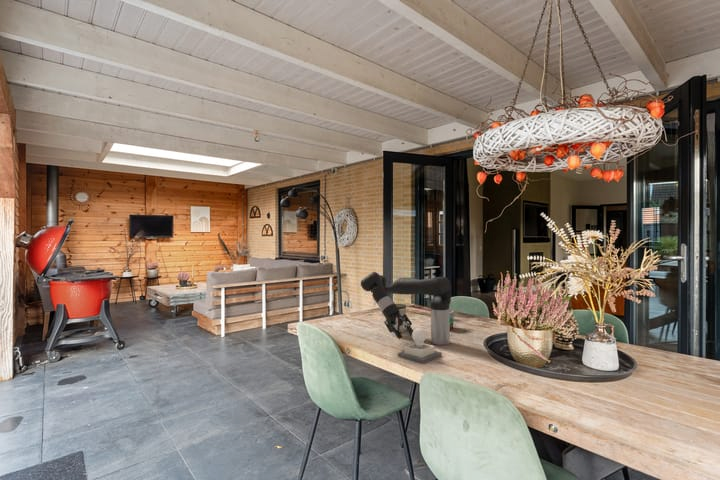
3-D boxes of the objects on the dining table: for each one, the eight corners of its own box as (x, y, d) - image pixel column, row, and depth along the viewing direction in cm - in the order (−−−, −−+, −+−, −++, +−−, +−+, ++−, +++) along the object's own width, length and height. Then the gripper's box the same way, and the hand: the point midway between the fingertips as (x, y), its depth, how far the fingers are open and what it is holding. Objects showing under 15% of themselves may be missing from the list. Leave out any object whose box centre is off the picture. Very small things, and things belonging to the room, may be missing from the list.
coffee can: (390, 332, 210) (390, 307, 210) (387, 327, 220) (386, 304, 220) (408, 331, 211) (408, 306, 211) (404, 326, 221) (403, 303, 221)
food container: (447, 331, 208) (446, 314, 208) (438, 330, 212) (437, 312, 212) (459, 328, 216) (459, 310, 216) (450, 326, 221) (450, 309, 220)
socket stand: (397, 356, 167) (397, 346, 167) (416, 349, 176) (416, 340, 176) (423, 363, 157) (422, 353, 157) (441, 355, 166) (441, 345, 166)
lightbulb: (417, 355, 163) (416, 330, 162) (409, 351, 168) (409, 327, 168) (429, 353, 165) (428, 328, 165) (421, 349, 171) (421, 325, 171)
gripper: (393, 310, 185) (411, 337, 177) (374, 314, 175) (392, 344, 167) (402, 301, 181) (421, 328, 173) (382, 305, 171) (401, 334, 163)
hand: (406, 336), depth 170 cm, fingers open, 8 cm apart
